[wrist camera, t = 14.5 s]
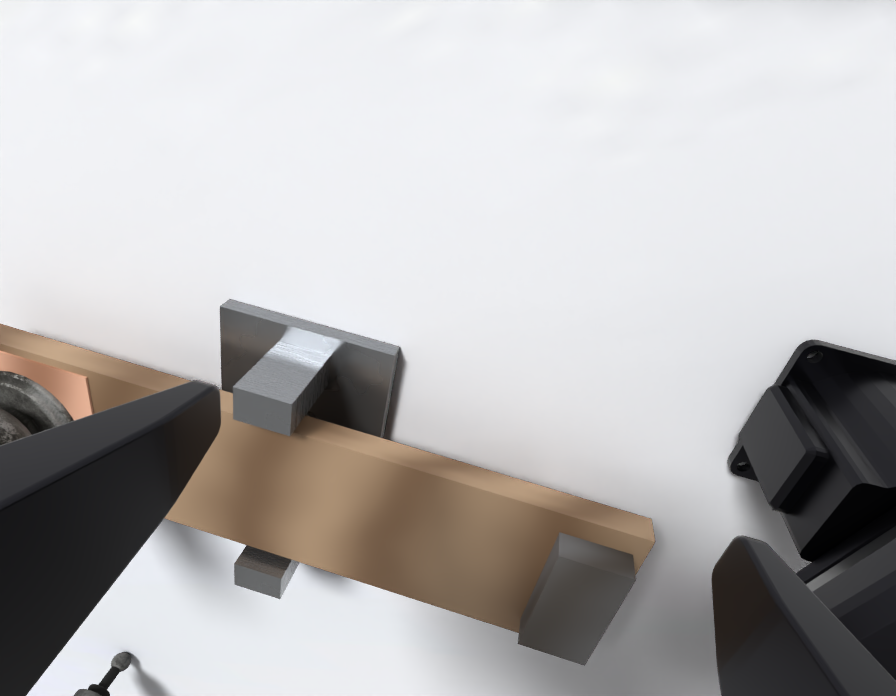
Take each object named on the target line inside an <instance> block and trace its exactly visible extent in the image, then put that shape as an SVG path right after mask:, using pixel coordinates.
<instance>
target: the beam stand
mask: <svg viewBox="0 0 896 696" xmlns="http://www.w3.org/2000/svg"><path fill="white" fill-rule="evenodd" d="M220 332H221V377H222V390H223V391H226V392H230V393H233V420H237V421H240V422H243V423H247V424H250V425H254V426H257V427H260V428H264V429H267V430H270V431H274V432H277V433H280V434H284V435H287V436H291V434H292V433H293V432H294V430H295V429H296V427H297V426H298V425H299V423H300V422H301V421H302V419H303V418H304V417H305V415H306V416H310V417H313V418H316V419H320V420H323V421H326V422H330V423H333V424H336V425H340V426H343V427H346V428H350V429H353V430H356V431H360V432H363V433H366V434H370V435H373V436H376V437H380V438H384V432H385V426H386V421H387V415H388V410H389V404H390V398H391V393H392V387H393V382H394V376H395V370H396V365H397V359H398V353H399V348H400V347H399V346H395V345H392V344H388V343H385V342H381V341H377V340H374V339H370V338H367V337H363V336H360V335H356V334H352V333H349V332H345V331H342V330H338V329H335V328H331V327H328V326H324V325H320V324H317V323H313V322H310V321H306V320H303V319H299V318H295V317H292V316H288V315H285V314H281V313H278V312H274V311H270V310H267V309H263V308H260V307H256V306H253V305H249V304H245V303H242V302H238V301H235V300H231V299H229V300H228V301H227V302H225V303H224V304H222V305H221V306H220ZM298 564H299V562H298V561H295V560H292V559H288V558H285V557H282V556H279V555H276V554H273V553H270V552H267V551H264V550H261V549H257V548H254V547H251V546H248V545H247V546H246V547H245V549H244V550H243V552H242V553H241V555H240V556H239V558H238V559H237V561H236V562H235V564H234V572H235V585H238V586H241V587H244V588H247V589H250V590H253V591H257V592H260V593H263V594H266V595H269V596H272V597H275V598H278V599H280V598H281V596H282V594H283V593H284V591H285V589H286V587H287V585H288V583H289V581H290V579H291V577H292V576H293V574H294V572H295V570H296V568H297V566H298Z"/></svg>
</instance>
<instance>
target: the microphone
mask: <svg viewBox="0 0 896 696" xmlns="http://www.w3.org/2000/svg"><path fill="white" fill-rule="evenodd" d="M130 663H131V656H130V655H129V654H128V653H126V652H121V653H119V654H117V655H116V656H115V657H114V658H113V660H112V663H111V666H112V667H111V669H110V670H109V671H108V673H107V674H106V675H105V677H104V678H103V679H102V681H101V682H100V683H99V685H96V684H92V685H90V686H89V688H88V690H87V689H80V690H78V691H77V692H76V693H75V695H74V696H110V693H109V692H108V691H107V689H108V687H109V686H110V685H111V683H112V682H113V680H114V679H115V678H116V676H117V675H118V674H119V672H121V671H124V670H125V669H127V668H128V667H129V665H130Z"/></svg>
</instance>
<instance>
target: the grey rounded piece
mask: <svg viewBox="0 0 896 696" xmlns="http://www.w3.org/2000/svg"><path fill="white" fill-rule="evenodd" d="M71 421H74V420H73V418H72V417H71V415H70V414H69V412H68V411H67V410H66V408H65V407H64V405H63V404H62V403H61V402H60V401H59V400H58V399H57V398H56V397H55V396H54V395H53V394H52V393H50V392H49V391H48V390H46V389H45V388H44V387H42V386H41V385H40V384H38V383H36V382H34V381H33V380H31V379H29V378H27V377H25V376H23V375H19V374H16V373H13V372H10V371H0V445H3V444H6V443H9V442H12V441H15V440H18V439H21V438H24V437H27V436H30V435H33V434H36V433H39V432H42V431H45V430H48V429H51V428H54V427H57V426H60V425H63V424H65V423H68V422H71Z"/></svg>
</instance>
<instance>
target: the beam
mask: <svg viewBox="0 0 896 696" xmlns="http://www.w3.org/2000/svg"><path fill="white" fill-rule="evenodd" d="M0 371H10V372H13V373H16V374H19V375H23V376H25V377H27V378H29V379H31V380H33V381H34V382H36V383H38V384H40V385H41V386H42V387H44V388H45V389H46V390H48V391H49V392H50V393H52V394H53V395H54V396H55V397H56V398H57V399H58V400H59V401H60V402H61V403H62V404H63V405H64V407H65V408H66V410H67V411H68V412H69V414H70V415H71V417H72V418H73V420H77V419H80V418H83V417H86V416H89V415H92V414H95V413H98V412H101V411H104V410H107V409H110V408H113V407H116V406H119V405H122V404H125V403H128V402H131V401H134V400H137V399H140V398H143V397H146V396H149V395H152V394H155V393H157V392H160V391H163V390H166V389H169V388H172V387H175V386H178V385H181V384H184V383H187V382H190V380H186V379H183V378H180V377H176V376H173V375H170V374H166V373H163V372H160V371H156V370H153V369H150V368H146V367H143V366H140V365H136V364H133V363H130V362H126V361H123V360H120V359H116V358H113V357H110V356H106V355H103V354H100V353H96V352H93V351H90V350H86V349H83V348H80V347H76V346H73V345H70V344H66V343H63V342H59V341H56V340H53V339H49V338H46V337H43V336H39V335H36V334H33V333H29V332H26V331H23V330H19V329H16V328H13V327H9V326H6V325H3V324H0ZM219 390H220V389H219ZM220 400H221V427H220V430H219V433H218V435H217V437H216V438H215V440H214V442H213V443H212V445H211V446H210V448H209V450H208V451H207V453H206V454H205V456H204V458H203V459H202V461H201V463H200V464H199V466H198V467H197V469H196V471H195V472H194V474H193V475H192V477H191V479H190V480H189V482H188V484H187V485H186V487H185V488H184V490H183V492H182V493H181V495H180V496H179V498H178V499H177V501H176V502H175V504H174V505H173V507H172V508H171V510H170V511H169V512H168V514H167V515H166V516H165V519H168V520H171V521H174V522H177V523H180V524H183V525H186V526H189V527H193V528H196V529H199V530H202V531H205V532H208V533H211V534H214V535H217V536H220V537H223V538H227V539H230V540H233V541H236V542H239V543H242V544H245V545H248V546H251V547H254V548H257V549H261V550H264V551H267V552H270V553H273V554H276V555H279V556H282V557H285V558H288V559H292V560H295V561H298V562H301V563H304V564H307V565H310V566H313V567H316V568H319V569H322V570H326V571H329V572H332V573H335V574H338V575H341V576H344V577H347V578H350V579H353V580H357V581H360V582H363V583H366V584H369V585H372V586H375V587H378V588H381V589H384V590H387V591H391V592H394V593H397V594H400V595H403V596H406V597H409V598H412V599H415V600H418V601H422V602H425V603H428V604H431V605H434V606H437V607H440V608H443V609H446V610H449V611H452V612H456V613H459V614H462V615H465V616H468V617H471V618H474V619H477V620H480V621H483V622H486V623H490V624H493V625H496V626H499V627H502V628H505V629H508V630H511V631H514V632H517V633H519V638H518V644H520V645H523V646H526V647H529V648H532V649H535V650H539V651H542V652H545V653H548V654H551V655H554V656H557V657H560V658H563V659H566V660H569V661H572V662H575V663H579V664H582V665H585V664H586V662H587V661H588V659H589V657H590V656H591V654H592V652H593V651H594V649H595V647H596V646H597V644H598V642H599V641H600V639H601V637H602V636H603V634H604V632H605V631H606V629H607V627H608V626H609V624H610V622H611V621H612V619H613V617H614V616H615V614H616V612H617V611H618V609H619V607H620V606H621V604H622V602H623V601H624V599H625V597H626V596H627V594H628V592H629V591H630V589H631V587H632V586H633V584H634V582H635V581H636V576H635V575H636V574H637V572H638V570H639V568H640V567H641V565H642V563H643V562H644V560H645V558H646V557H647V555H648V553H649V552H650V550H651V548H652V547H653V545H654V543H655V537H654V531H653V525H652V519H650V518H647V517H643V516H640V515H637V514H633V513H630V512H627V511H623V510H620V509H617V508H613V507H610V506H607V505H603V504H600V503H597V502H593V501H590V500H587V499H583V498H580V497H577V496H573V495H570V494H567V493H563V492H560V491H557V490H553V489H550V488H547V487H543V486H540V485H537V484H533V483H530V482H527V481H523V480H520V479H517V478H513V477H510V476H507V475H503V474H500V473H497V472H493V471H490V470H487V469H483V468H480V467H477V466H473V465H470V464H467V463H463V462H460V461H456V460H453V459H450V458H446V457H443V456H440V455H436V454H433V453H430V452H426V451H423V450H420V449H416V448H413V447H410V446H406V445H403V444H400V443H396V442H393V441H390V440H386V439H383V438H380V437H376V436H373V435H370V434H366V433H363V432H360V431H356V430H353V429H350V428H346V427H343V426H340V425H336V424H333V423H330V422H326V421H323V420H320V419H316V418H313V417H310V416H306V415H305V417H304V418H303V419H302V421H301V422H300V423H299V425H298V426H297V427H296V429H295V430H294V432H293V433H292V434H291V436H287V435H284V434H280V433H277V432H274V431H270V430H267V429H264V428H260V427H257V426H254V425H250V424H247V423H243V422H240V421H237V420H233V393H230V392H226V391H223V390H220Z"/></svg>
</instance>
